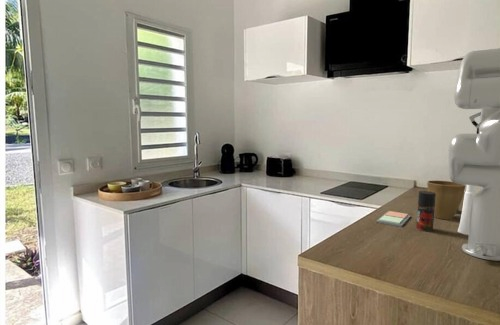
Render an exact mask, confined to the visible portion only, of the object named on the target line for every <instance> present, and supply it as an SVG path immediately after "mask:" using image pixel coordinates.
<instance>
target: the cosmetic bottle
mask: <svg viewBox="0 0 500 325" xmlns="http://www.w3.org/2000/svg"><path fill="white" fill-rule="evenodd" d="M475 194H477V192H476V186H473V185H466V188H465V191H464V194H463V202H462V209H461V216H460V221H459V226H458V228H457V233H459V234H461V235H466V236H469V225H470V214H471V204H472V199H473V197H474V196H475Z"/></svg>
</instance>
